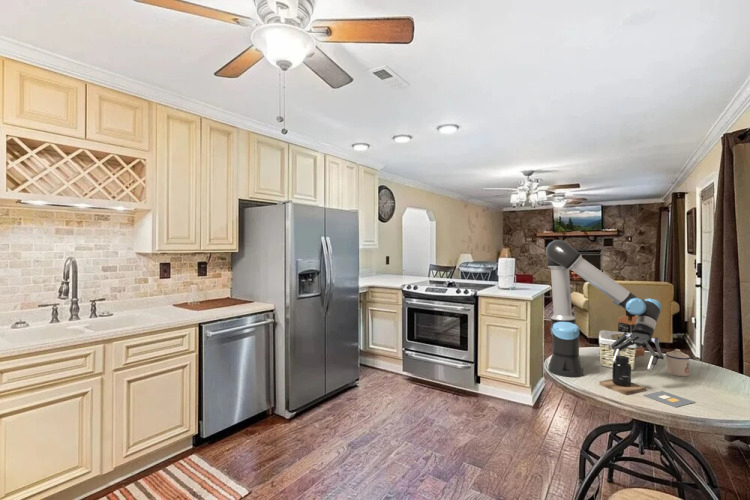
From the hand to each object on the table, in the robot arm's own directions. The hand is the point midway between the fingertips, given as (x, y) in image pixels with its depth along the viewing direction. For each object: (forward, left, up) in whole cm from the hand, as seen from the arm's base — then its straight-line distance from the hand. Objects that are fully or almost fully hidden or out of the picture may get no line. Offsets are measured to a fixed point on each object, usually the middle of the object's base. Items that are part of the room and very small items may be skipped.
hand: (631, 366), depth 166 cm
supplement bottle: (+2, -9, -6) cm, 11 cm away
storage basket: (-22, +21, -8) cm, 31 cm away
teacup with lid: (-1, +34, -8) cm, 35 cm away
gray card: (+17, -3, -8) cm, 19 cm away
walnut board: (+2, -9, -8) cm, 12 cm away
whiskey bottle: (-30, +43, -8) cm, 53 cm away
